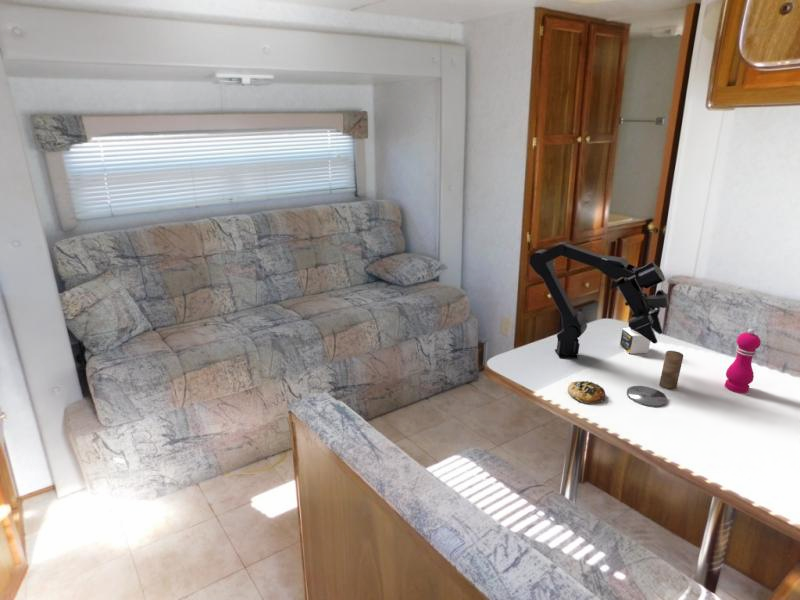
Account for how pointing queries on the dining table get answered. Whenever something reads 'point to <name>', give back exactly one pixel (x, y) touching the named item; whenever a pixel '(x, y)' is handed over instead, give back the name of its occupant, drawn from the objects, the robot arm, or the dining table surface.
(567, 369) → the dining table surface
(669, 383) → the walnut post
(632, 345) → the medicine bottle
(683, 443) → the dining table surface
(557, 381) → the dining table surface
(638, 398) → the pad
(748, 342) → the pepper mill
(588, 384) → the bread roll
